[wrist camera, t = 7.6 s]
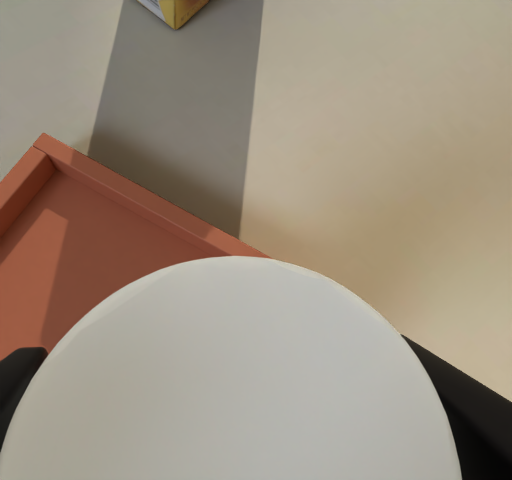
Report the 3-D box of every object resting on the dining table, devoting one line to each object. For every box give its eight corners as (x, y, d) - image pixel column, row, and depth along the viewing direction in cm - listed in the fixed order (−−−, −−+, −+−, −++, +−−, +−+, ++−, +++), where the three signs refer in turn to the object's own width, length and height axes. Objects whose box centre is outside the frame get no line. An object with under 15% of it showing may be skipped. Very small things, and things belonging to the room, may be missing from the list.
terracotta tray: (143, 610, 17) (136, 639, 15) (-165, 423, 17) (-212, 426, 15) (304, 292, 21) (315, 281, 19) (56, 155, 22) (43, 131, 20)
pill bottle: (248, 300, 15) (333, 136, 6) (338, 467, 14) (634, 597, 4) (81, 386, 14) (-159, 347, 4) (163, 583, 12) (67, 1143, 3)
